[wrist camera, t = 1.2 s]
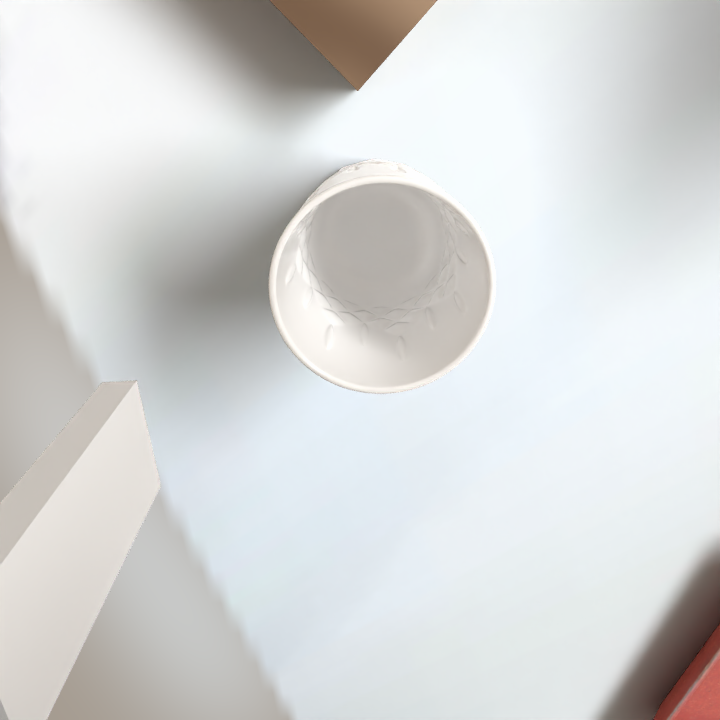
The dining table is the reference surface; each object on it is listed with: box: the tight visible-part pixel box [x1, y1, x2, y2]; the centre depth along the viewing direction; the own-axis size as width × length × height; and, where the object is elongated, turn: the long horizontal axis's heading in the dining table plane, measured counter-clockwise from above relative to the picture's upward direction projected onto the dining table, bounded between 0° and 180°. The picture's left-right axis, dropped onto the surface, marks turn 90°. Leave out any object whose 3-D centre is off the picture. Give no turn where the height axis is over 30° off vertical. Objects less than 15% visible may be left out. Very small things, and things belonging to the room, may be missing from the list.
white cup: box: [269, 158, 496, 394], centre depth 27 cm, size 8×8×10 cm
